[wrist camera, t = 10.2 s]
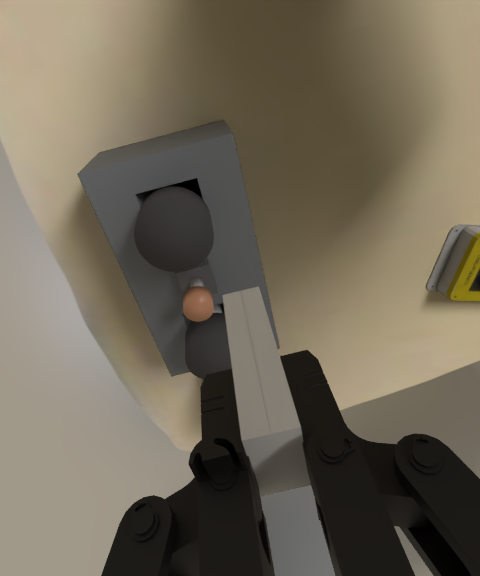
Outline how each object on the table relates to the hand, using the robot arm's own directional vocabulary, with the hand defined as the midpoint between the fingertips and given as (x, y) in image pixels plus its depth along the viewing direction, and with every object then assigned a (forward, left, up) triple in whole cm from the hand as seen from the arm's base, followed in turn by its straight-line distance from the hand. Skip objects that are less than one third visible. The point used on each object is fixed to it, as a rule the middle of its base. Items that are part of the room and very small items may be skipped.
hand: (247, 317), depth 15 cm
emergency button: (+20, +32, -25) cm, 45 cm away
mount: (+7, -4, -25) cm, 26 cm away
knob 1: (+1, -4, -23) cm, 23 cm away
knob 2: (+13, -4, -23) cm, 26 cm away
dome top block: (+7, -4, -17) cm, 18 cm away
